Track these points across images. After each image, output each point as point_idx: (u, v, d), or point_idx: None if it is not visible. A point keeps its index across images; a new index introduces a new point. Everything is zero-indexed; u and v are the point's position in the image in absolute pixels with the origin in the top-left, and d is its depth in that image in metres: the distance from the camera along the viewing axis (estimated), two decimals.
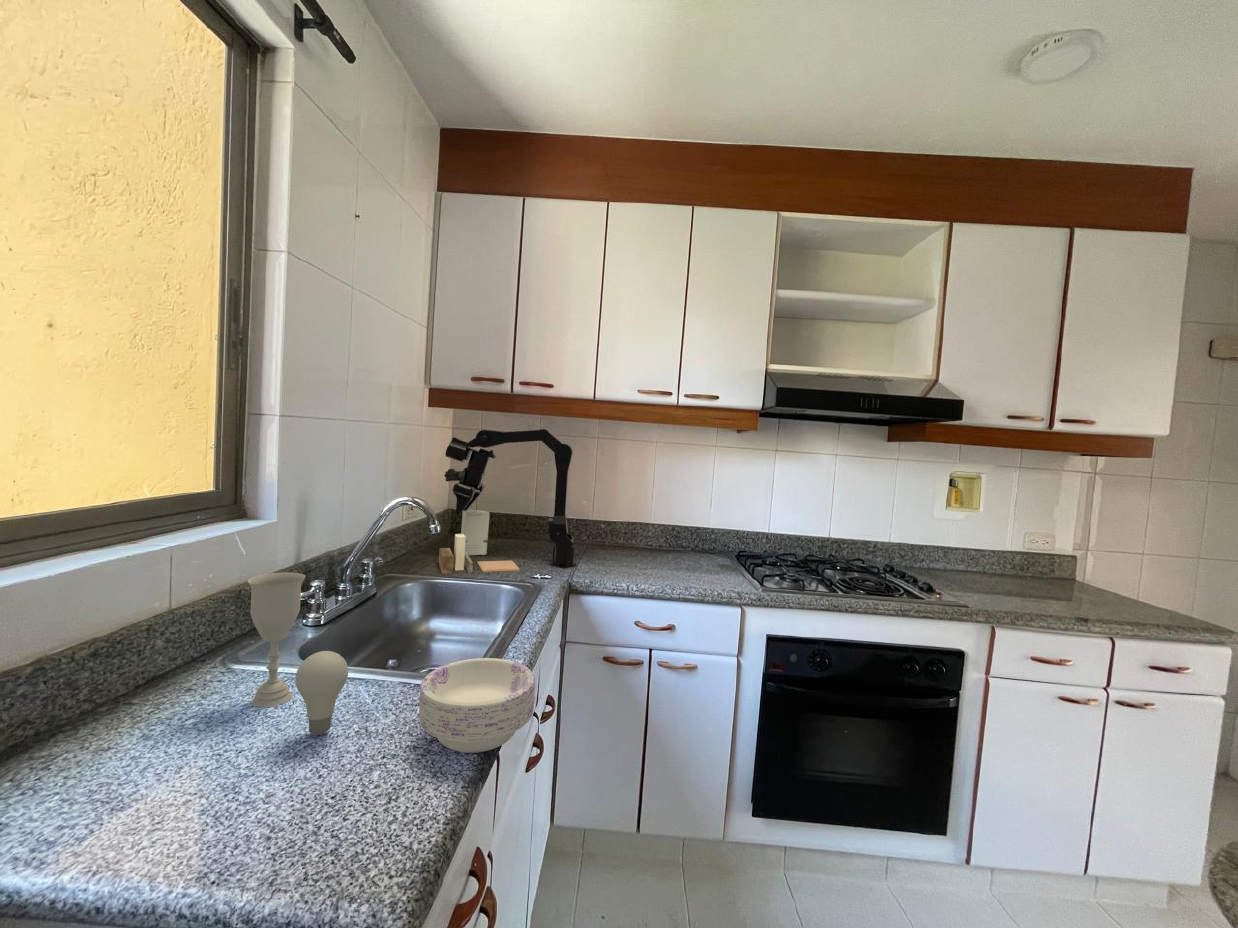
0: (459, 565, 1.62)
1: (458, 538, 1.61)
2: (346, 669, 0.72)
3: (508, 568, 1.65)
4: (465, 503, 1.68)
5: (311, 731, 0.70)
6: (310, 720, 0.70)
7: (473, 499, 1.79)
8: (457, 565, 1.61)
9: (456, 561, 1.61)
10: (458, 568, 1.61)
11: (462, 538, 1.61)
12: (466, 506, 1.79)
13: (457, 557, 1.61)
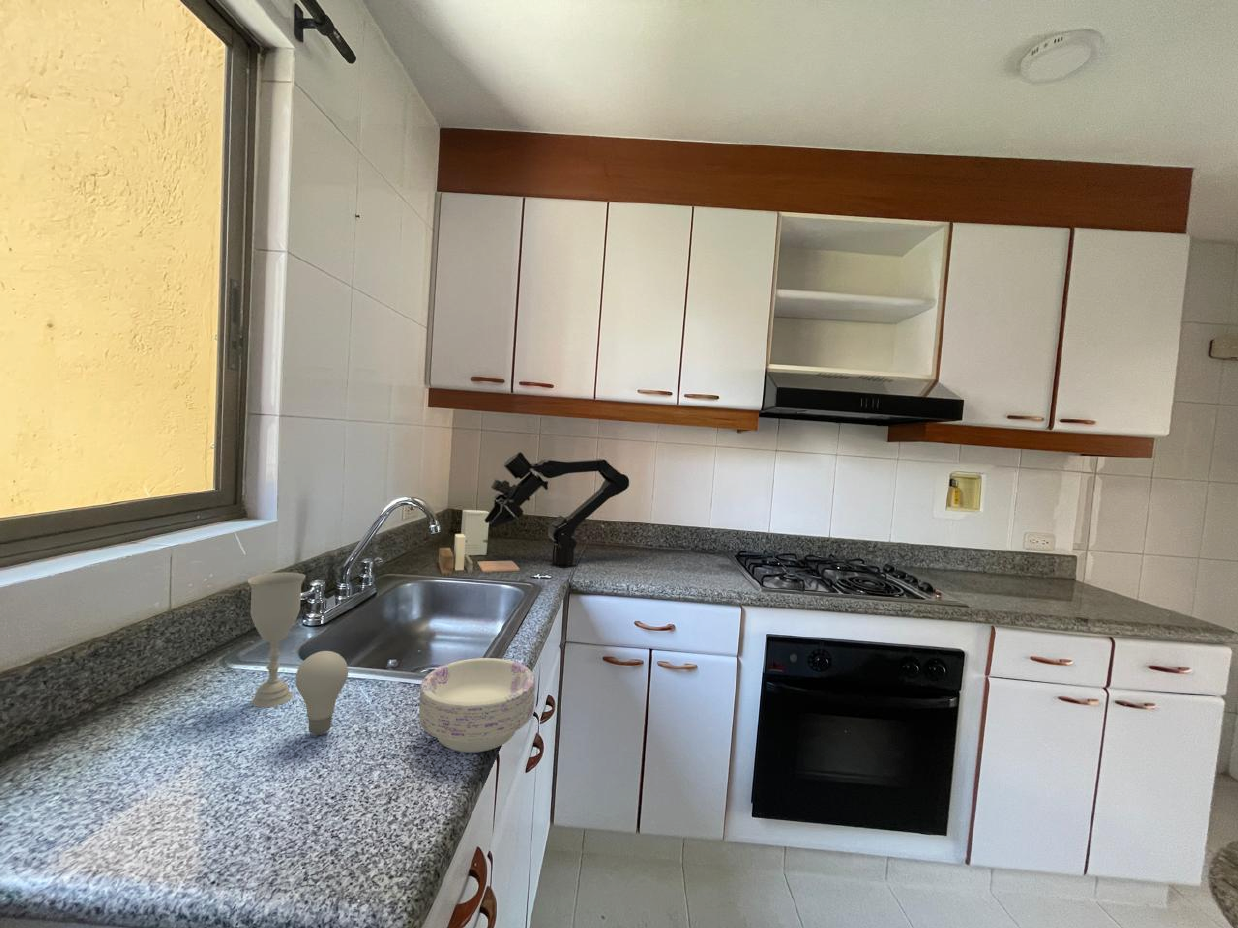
0: (459, 565, 1.62)
1: (458, 538, 1.61)
2: (346, 669, 0.72)
3: (508, 568, 1.65)
4: (505, 520, 1.63)
5: (311, 731, 0.70)
6: (310, 720, 0.70)
7: None
8: (457, 565, 1.61)
9: (456, 561, 1.61)
10: (458, 568, 1.61)
11: (462, 538, 1.61)
12: (490, 518, 1.71)
13: (457, 557, 1.61)
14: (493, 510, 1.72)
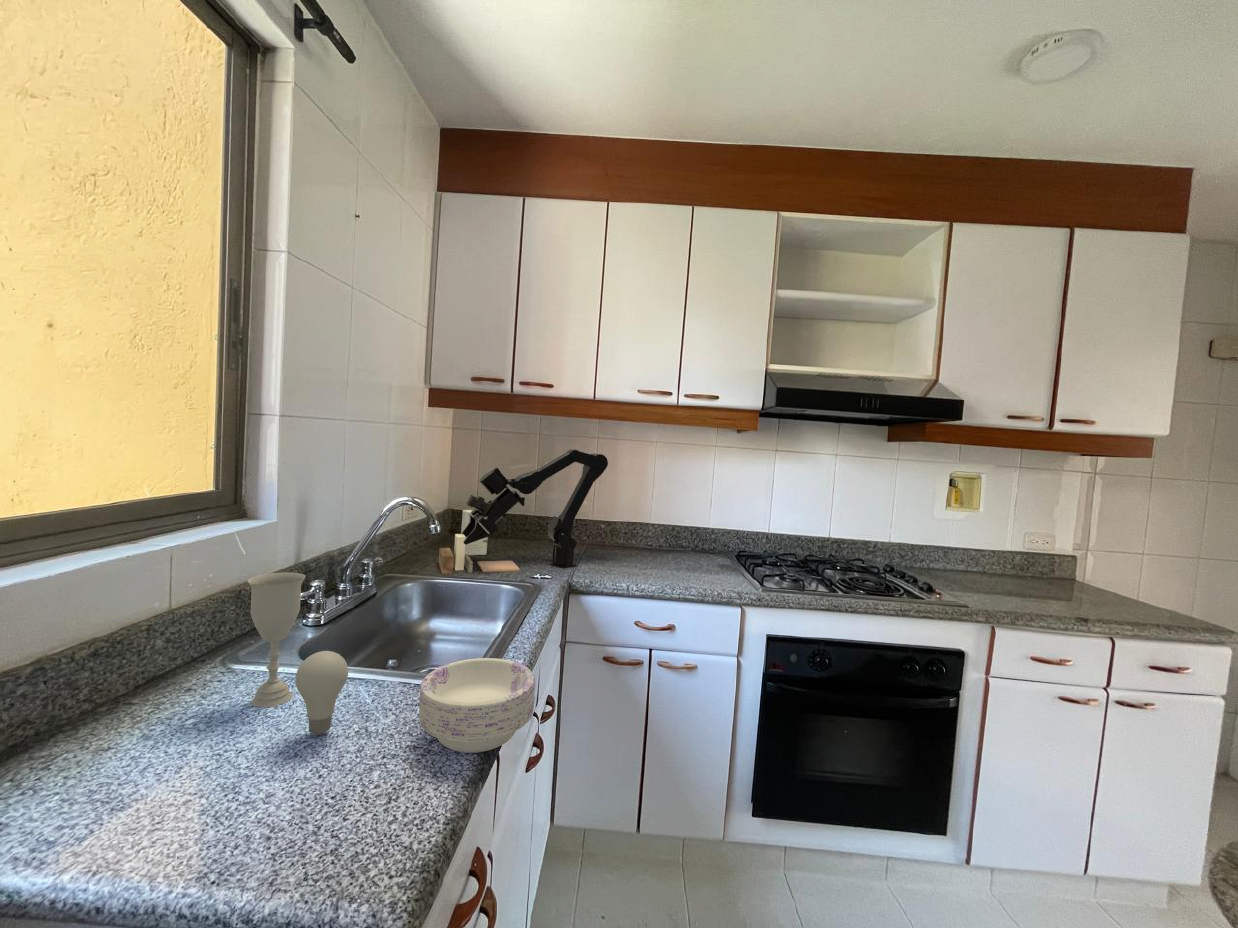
0: (459, 565, 1.62)
1: (458, 538, 1.61)
2: (346, 669, 0.72)
3: (508, 568, 1.65)
4: (480, 537, 1.60)
5: (311, 731, 0.70)
6: (310, 720, 0.70)
7: None
8: (457, 565, 1.61)
9: (456, 561, 1.61)
10: (458, 568, 1.61)
11: (462, 538, 1.61)
12: (465, 534, 1.68)
13: (457, 557, 1.61)
14: (469, 526, 1.69)
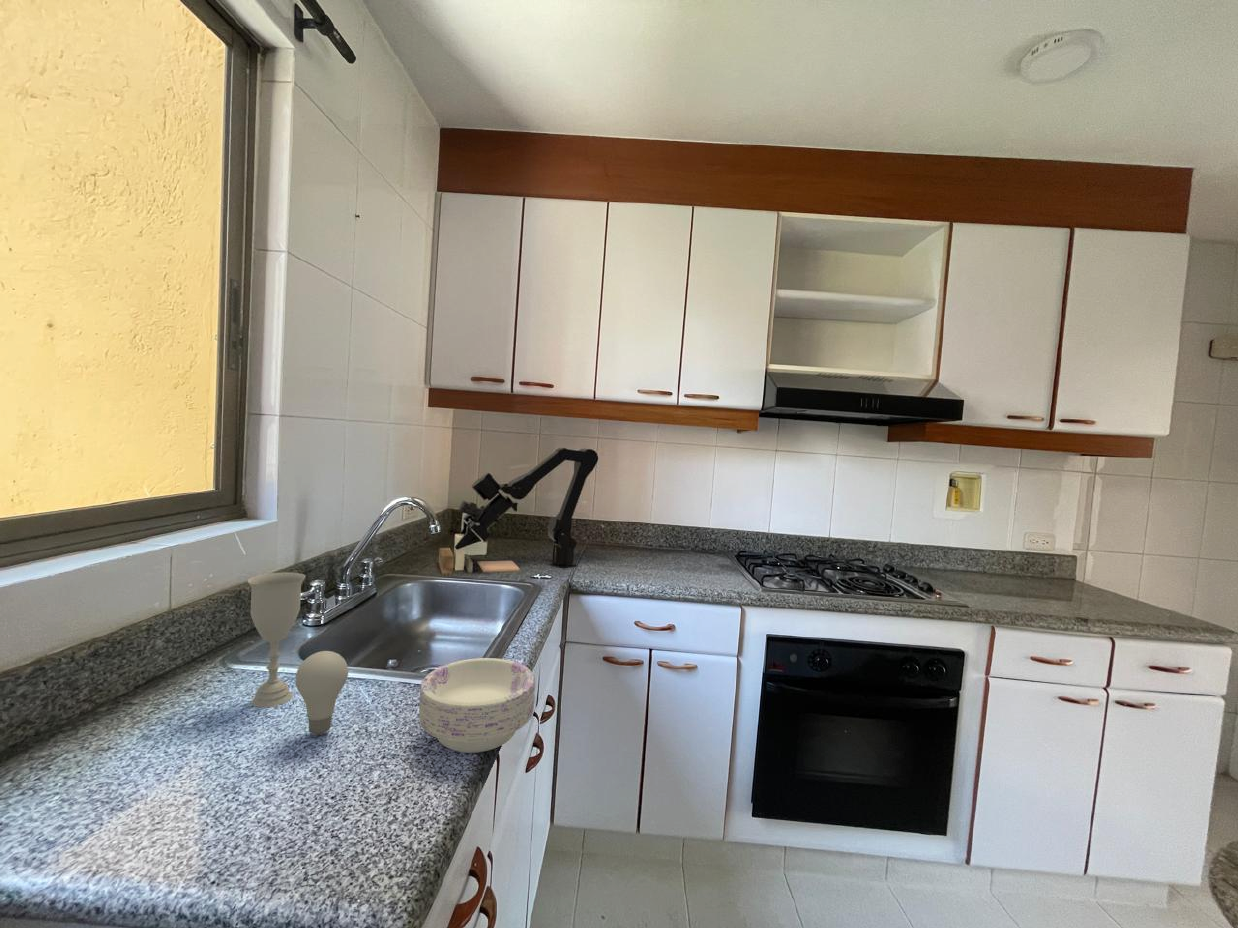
0: (459, 565, 1.61)
1: (458, 538, 1.61)
2: (346, 669, 0.72)
3: (508, 568, 1.65)
4: (471, 542, 1.61)
5: (311, 731, 0.70)
6: (310, 720, 0.70)
7: None
8: (457, 565, 1.61)
9: (456, 561, 1.61)
10: (458, 568, 1.61)
11: None
12: None
13: (457, 557, 1.61)
14: (462, 533, 1.67)
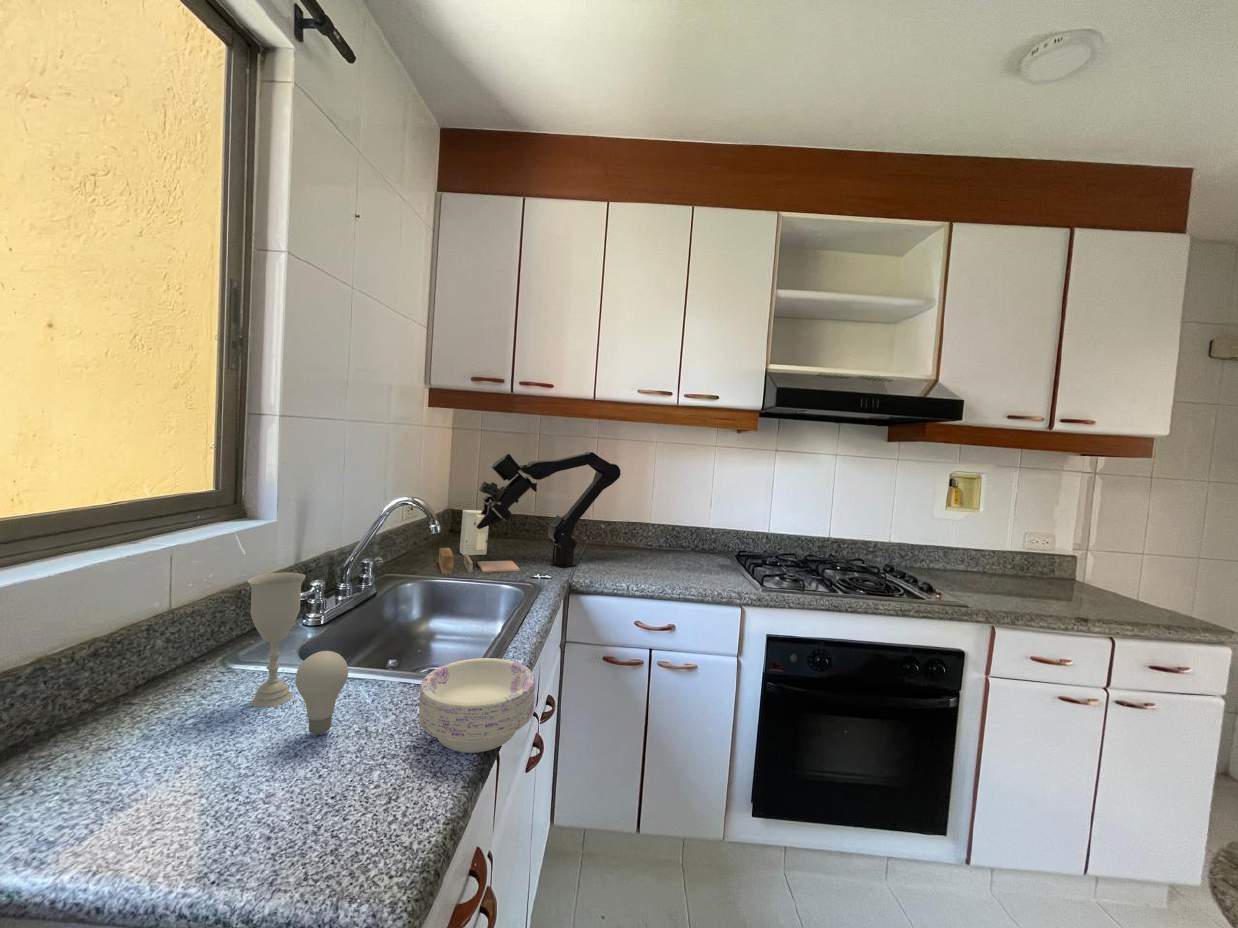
0: (481, 544, 1.64)
1: (479, 518, 1.63)
2: (346, 669, 0.72)
3: (508, 568, 1.65)
4: (492, 522, 1.63)
5: (311, 731, 0.70)
6: (310, 720, 0.70)
7: None
8: (479, 544, 1.63)
9: (478, 540, 1.63)
10: (480, 547, 1.64)
11: None
12: None
13: (479, 536, 1.63)
14: (483, 513, 1.69)
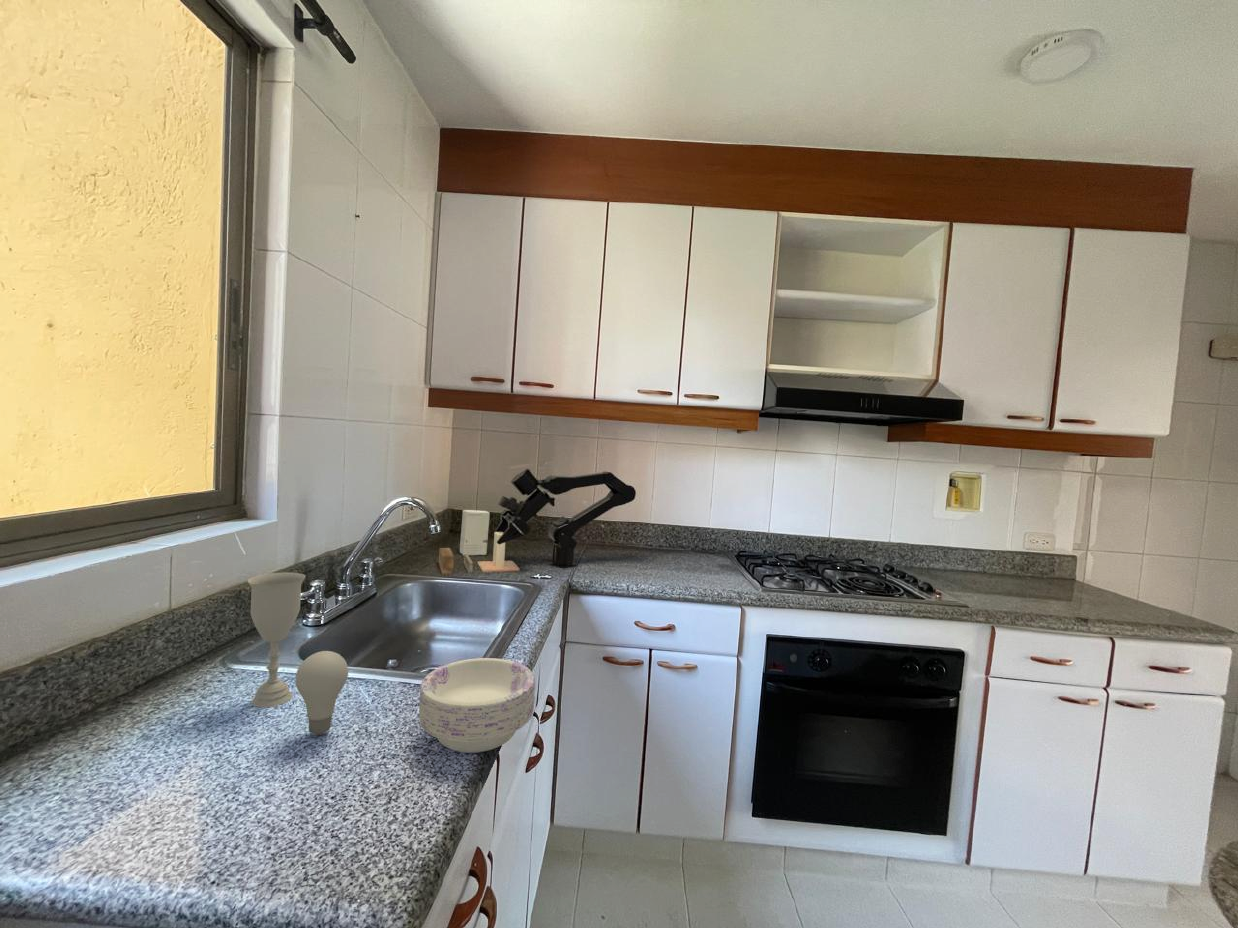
0: (499, 562, 1.66)
1: (499, 536, 1.66)
2: (346, 669, 0.72)
3: (508, 568, 1.65)
4: (513, 537, 1.64)
5: (311, 731, 0.70)
6: (310, 720, 0.70)
7: None
8: (498, 562, 1.66)
9: (497, 558, 1.66)
10: (498, 565, 1.66)
11: None
12: None
13: (498, 554, 1.66)
14: (500, 526, 1.73)
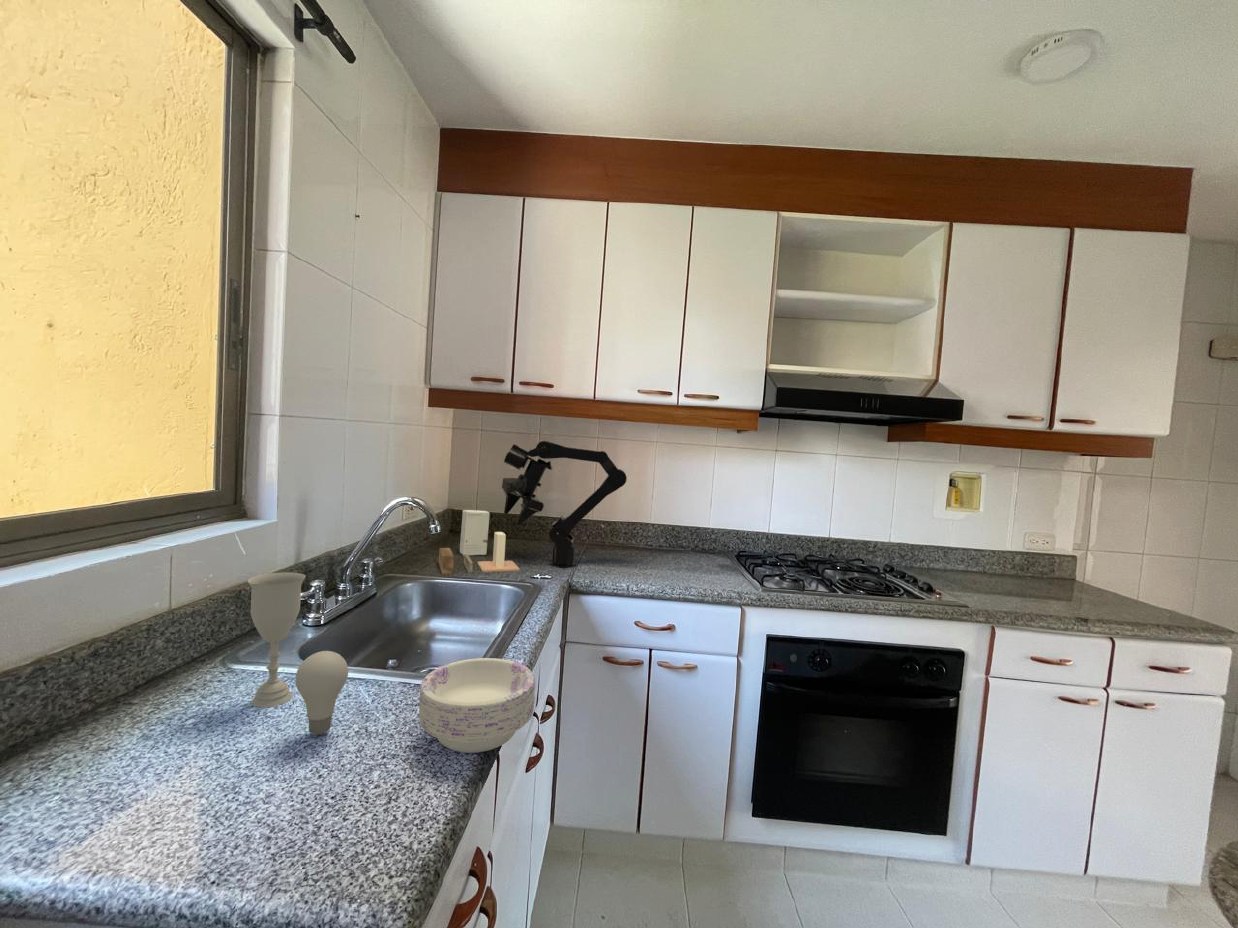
0: (499, 562, 1.66)
1: (499, 536, 1.66)
2: (346, 669, 0.72)
3: (508, 568, 1.65)
4: (529, 515, 1.72)
5: (311, 731, 0.70)
6: (310, 720, 0.70)
7: (515, 502, 1.81)
8: (498, 562, 1.66)
9: (497, 558, 1.66)
10: (498, 565, 1.66)
11: (502, 536, 1.66)
12: (508, 509, 1.79)
13: (498, 554, 1.66)
14: (508, 501, 1.79)
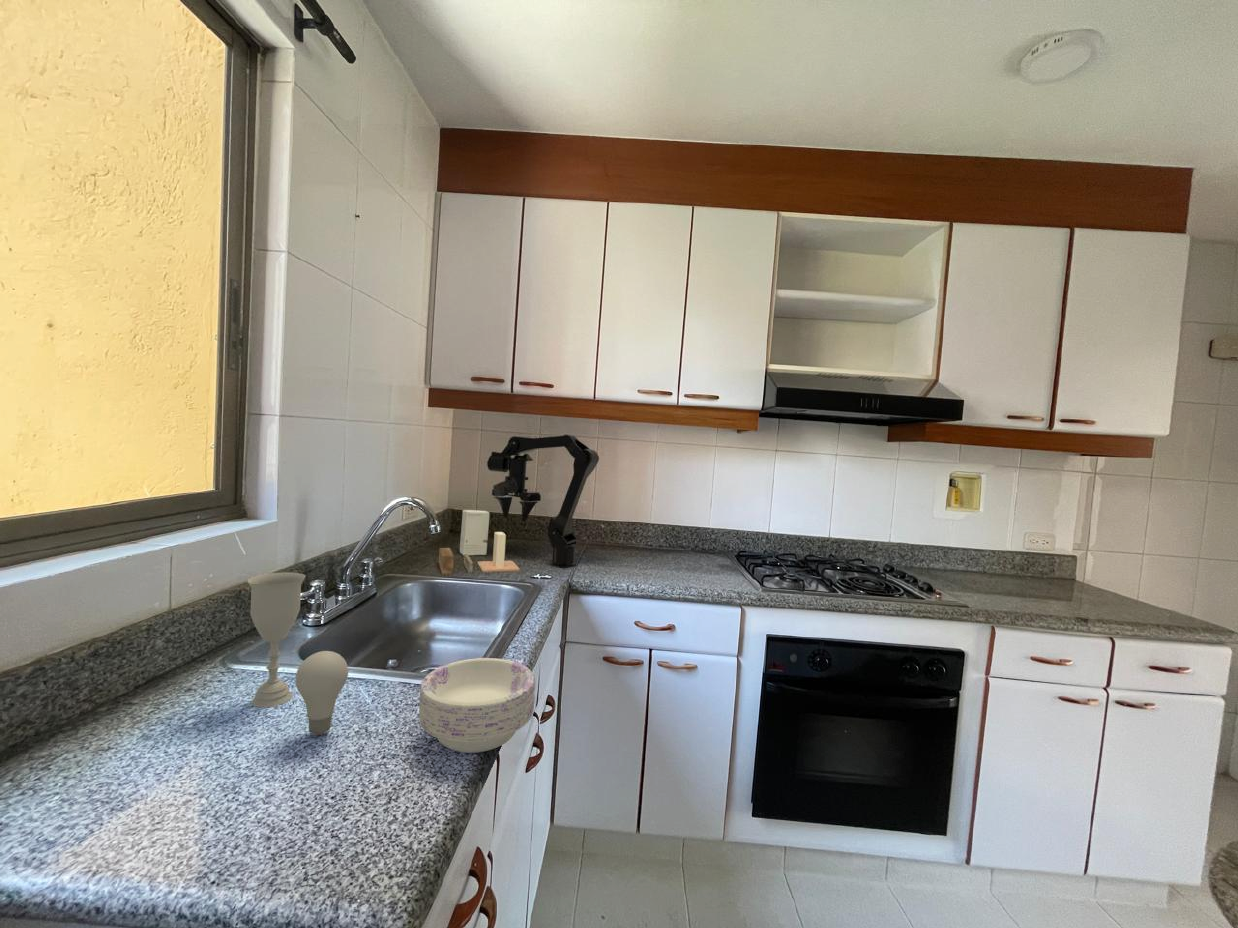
0: (499, 562, 1.66)
1: (499, 536, 1.66)
2: (346, 669, 0.72)
3: (508, 568, 1.65)
4: (531, 508, 1.80)
5: (311, 731, 0.70)
6: (310, 720, 0.70)
7: (509, 504, 1.87)
8: (498, 562, 1.66)
9: (497, 558, 1.66)
10: (498, 565, 1.66)
11: (502, 536, 1.66)
12: (506, 512, 1.86)
13: (498, 554, 1.66)
14: (504, 505, 1.85)
